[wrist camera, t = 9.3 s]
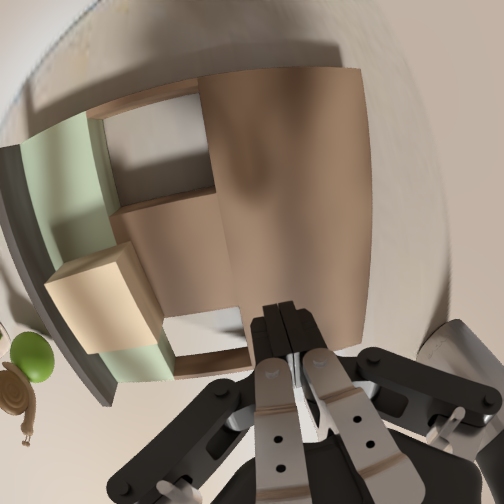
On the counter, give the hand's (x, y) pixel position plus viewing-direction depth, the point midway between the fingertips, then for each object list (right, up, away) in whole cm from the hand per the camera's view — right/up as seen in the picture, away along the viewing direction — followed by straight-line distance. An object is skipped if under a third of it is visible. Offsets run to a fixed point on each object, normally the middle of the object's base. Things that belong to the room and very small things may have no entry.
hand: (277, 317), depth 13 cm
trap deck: (-5, +4, +6) cm, 9 cm away
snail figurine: (-24, -7, +9) cm, 27 cm away
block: (-11, +1, +4) cm, 12 cm away
